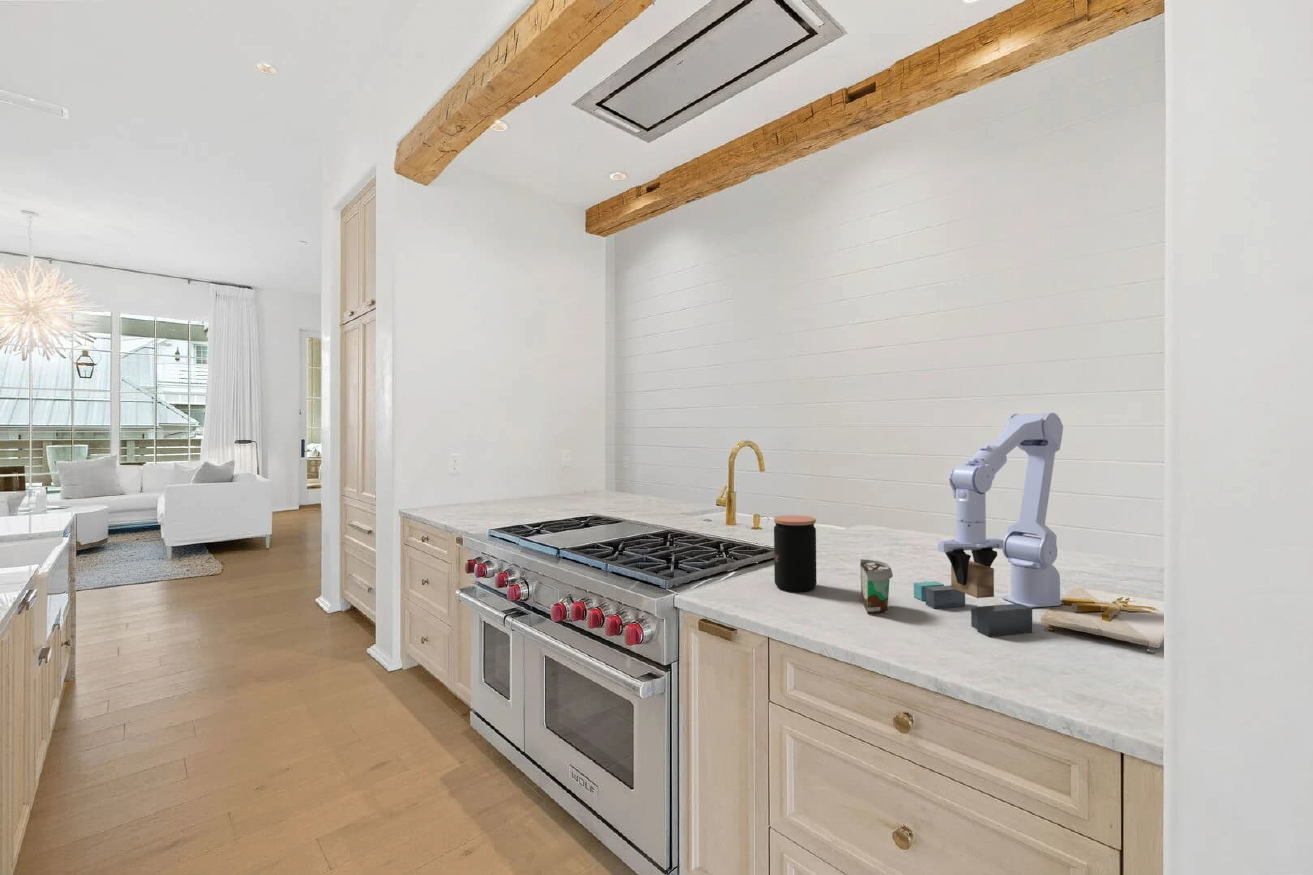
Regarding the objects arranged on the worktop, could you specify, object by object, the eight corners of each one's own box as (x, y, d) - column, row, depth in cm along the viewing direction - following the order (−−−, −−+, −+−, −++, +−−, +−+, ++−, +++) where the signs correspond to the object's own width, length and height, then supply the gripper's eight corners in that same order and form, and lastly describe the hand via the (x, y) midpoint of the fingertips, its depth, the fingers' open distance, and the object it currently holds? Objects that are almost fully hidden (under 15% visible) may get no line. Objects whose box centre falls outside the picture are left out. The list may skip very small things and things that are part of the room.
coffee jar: (784, 579, 160) (783, 514, 160) (822, 585, 154) (821, 517, 154) (767, 589, 152) (766, 519, 151) (807, 595, 146) (806, 523, 145)
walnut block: (967, 586, 131) (967, 559, 131) (993, 596, 123) (993, 568, 123) (951, 587, 131) (951, 560, 130) (977, 598, 123) (977, 569, 123)
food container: (898, 618, 128) (897, 572, 127) (868, 616, 129) (867, 571, 129) (887, 601, 140) (887, 559, 140) (860, 600, 141) (860, 558, 141)
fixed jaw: (1009, 623, 123) (1009, 599, 123) (1032, 632, 117) (1032, 608, 117) (966, 626, 122) (966, 602, 121) (988, 636, 116) (988, 611, 116)
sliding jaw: (939, 594, 144) (939, 578, 144) (965, 605, 135) (965, 588, 135) (910, 597, 142) (909, 580, 142) (933, 608, 134) (933, 590, 133)
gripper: (953, 525, 122) (953, 590, 122) (1014, 522, 124) (1014, 585, 125) (931, 520, 129) (931, 581, 129) (989, 517, 131) (990, 577, 132)
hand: (971, 583), depth 127 cm, fingers closed on walnut block, 4 cm apart
